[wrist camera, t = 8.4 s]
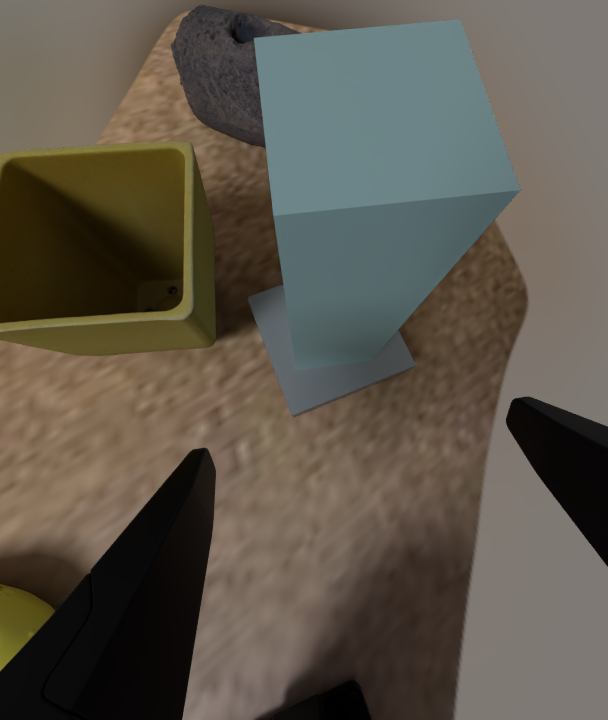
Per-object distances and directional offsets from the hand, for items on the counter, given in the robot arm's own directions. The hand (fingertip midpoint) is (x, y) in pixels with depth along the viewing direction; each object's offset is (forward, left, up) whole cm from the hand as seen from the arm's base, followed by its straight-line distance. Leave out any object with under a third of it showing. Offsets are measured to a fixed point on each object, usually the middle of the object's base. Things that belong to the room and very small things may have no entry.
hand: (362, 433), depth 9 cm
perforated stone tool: (+23, -6, -11) cm, 26 cm away
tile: (+6, -2, -10) cm, 12 cm away
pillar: (+6, -2, -8) cm, 11 cm away
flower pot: (+12, +7, -11) cm, 17 cm away
